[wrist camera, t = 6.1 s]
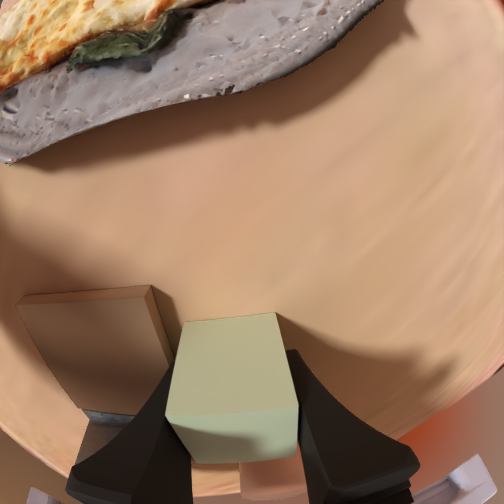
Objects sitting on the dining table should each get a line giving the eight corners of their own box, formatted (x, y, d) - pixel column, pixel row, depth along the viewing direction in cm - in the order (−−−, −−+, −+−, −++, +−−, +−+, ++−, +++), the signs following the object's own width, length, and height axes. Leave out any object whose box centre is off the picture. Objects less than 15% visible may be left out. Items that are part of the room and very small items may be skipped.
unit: (85, 401, 14) (58, 475, 8) (163, 407, 14) (149, 499, 8) (127, 450, 16) (115, 510, 10) (193, 455, 16) (191, 523, 11)
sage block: (184, 322, 11) (165, 415, 7) (275, 312, 12) (298, 404, 7) (202, 381, 13) (197, 464, 8) (279, 373, 13) (296, 455, 8)
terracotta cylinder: (233, 418, 15) (236, 488, 10) (297, 410, 15) (313, 478, 10) (241, 445, 16) (245, 502, 11) (296, 438, 16) (308, 494, 12)
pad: (24, 295, 10) (15, 304, 10) (150, 284, 11) (144, 297, 10) (82, 397, 13) (77, 408, 13) (193, 403, 14) (192, 417, 13)
